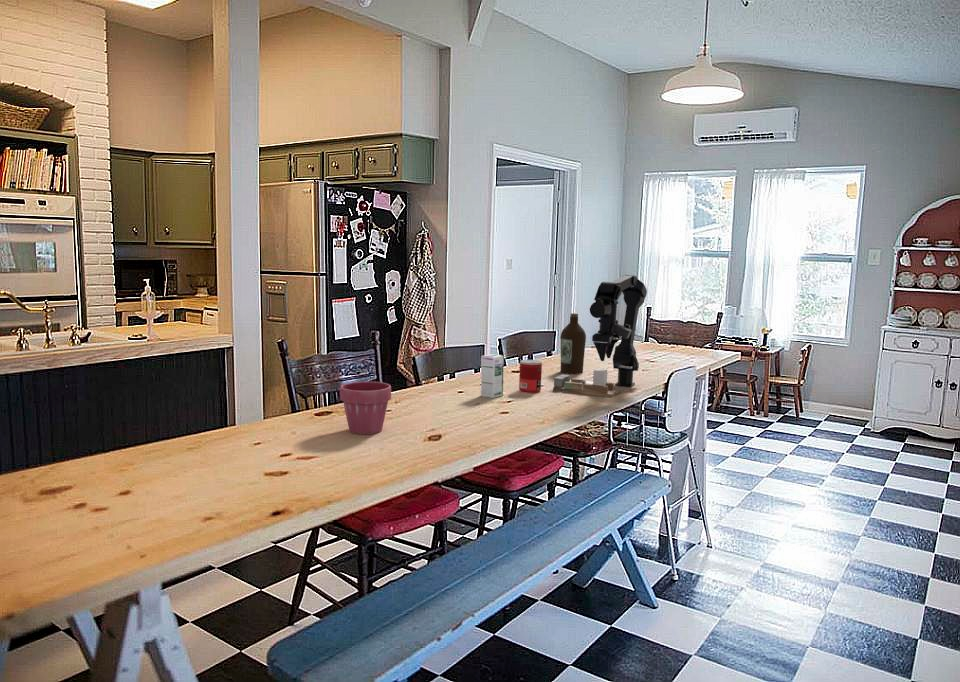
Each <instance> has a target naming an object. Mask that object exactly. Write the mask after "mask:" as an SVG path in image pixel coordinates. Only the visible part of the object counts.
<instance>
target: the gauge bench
mask: <svg viewBox="0 0 960 682" xmlns="http://www.w3.org/2000/svg"><path fill="white" fill-rule="evenodd" d="M570 379H571V380H570ZM582 381H593V379H592V380H590V379H580V378H573V377H572V378H571V374H564V373H562V374H560V375H558V376H555V377H554V379H553V387H552V388H553V389H552V391H553V390H555V391H554V392H562V391H563V392H564V393H570V392H572V393H571V394H578V393H580V394H581V395H587V394H588V395H589V396H595V395H597V396H596V397H603V396H606V397H605V398H614V396H616V395H618V394H619V393H620V389H618V388H616V389H615V382H608V381H607V383H606V386H601V385H592V384H583V383H581V382H582ZM563 392H562V393H563ZM617 393H618V394H617ZM588 395H587V396H588Z"/></svg>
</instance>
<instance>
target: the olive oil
mask: <svg viewBox="0 0 960 682" xmlns="http://www.w3.org/2000/svg"><path fill="white" fill-rule="evenodd" d="M559 338H560V373H562V372H563V373H562V374H566V373H568V374H567V375H581V374H583V372H584V361H585V352H586V351H585V350H586V341H587V336H586V332H585V329H584V328H583V327H582V326H581V325H580V324H579V314H578V313H575V312H574V313H573V312H572V313H570V317H569V323H568V324H567V325H566V326H565V327H564V328H563V329H562V331H561V333H560V337H559ZM580 373H581V374H580Z"/></svg>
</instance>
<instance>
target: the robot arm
mask: <svg viewBox="0 0 960 682" xmlns="http://www.w3.org/2000/svg"><path fill="white" fill-rule="evenodd" d="M647 294H648V290H647V287H646V285H645V283H644V282H642V281H641V280H639V278H638V277H637V275H634V274H624V275H622V276H621V277H619V278H617V279H615V280H613V281H602V282H601V283H600V284H599V286H598V288H597V290H596V293H595V296H594V298H593V300H594V302H593V303H592V304H590V307H589V314H590V316H592V317H593V318H595V319H598V323H599V330H597V332H595V333H594V334H592V338H591V339H592V340H591V341H592V342H593V344H594V347H595V350H596V351H597V354H598V356H599V360H600V362H604V361H605V358H607V359H611V357H612V365H613V369H614V370H615V369H617V382H614V386H623V387H633V386H635V385H636V382H633V379H634V372H638V371H639V367H640V363H639V361H638V358H637V351H636V349H635V346H634V342H635V341H634V340H635V334H636V328H637V323H638V316H639V310H640V308H641V307H642V306H643V304H644V303H645V299H646V297H647ZM622 295H623V301H624V303H625V305H626V307H625V312H624V313H625V314H624V319H623V320H624V321H623V325H621V324H619V321H618V319H617V314H618V313H617V311H618V304H619V301H618V300H619V298H620V297H621V296H622ZM619 341H620V343H619V344H617V342H619ZM616 344H617V345H616ZM613 351H614V352H613ZM612 354H613V355H612Z"/></svg>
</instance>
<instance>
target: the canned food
mask: <svg viewBox="0 0 960 682" xmlns="http://www.w3.org/2000/svg"><path fill="white" fill-rule="evenodd" d="M542 369H543V362H542V361H541V360H538V359H521V360H520V361H519V380H518V382H519V383H518V389H519V391H520V392H521V393H526V392H527V394H528V393H529V394H536V392H537V393H540V392H541V390H542V375H543V373H542V371H543V370H542Z"/></svg>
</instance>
